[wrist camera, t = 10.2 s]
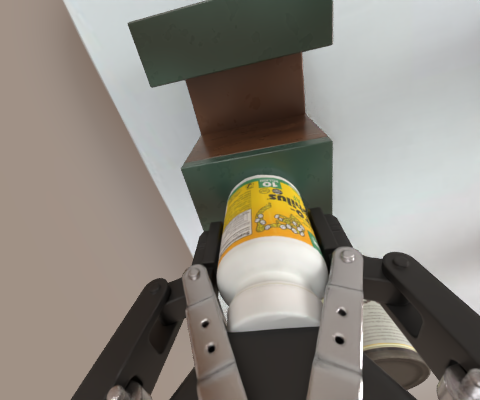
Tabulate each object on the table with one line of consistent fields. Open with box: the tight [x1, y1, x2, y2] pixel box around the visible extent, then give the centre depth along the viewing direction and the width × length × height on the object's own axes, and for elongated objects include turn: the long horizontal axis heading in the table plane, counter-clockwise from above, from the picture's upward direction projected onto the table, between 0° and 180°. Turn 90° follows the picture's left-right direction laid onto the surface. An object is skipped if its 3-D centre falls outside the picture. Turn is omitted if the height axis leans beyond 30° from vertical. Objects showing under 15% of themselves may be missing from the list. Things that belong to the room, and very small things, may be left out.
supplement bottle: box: [217, 175, 329, 332], centre depth 13 cm, size 5×5×10 cm
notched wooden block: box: [128, 0, 333, 231], centre depth 20 cm, size 16×10×13 cm, turn 12°
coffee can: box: [321, 295, 430, 390], centre depth 34 cm, size 10×10×14 cm
